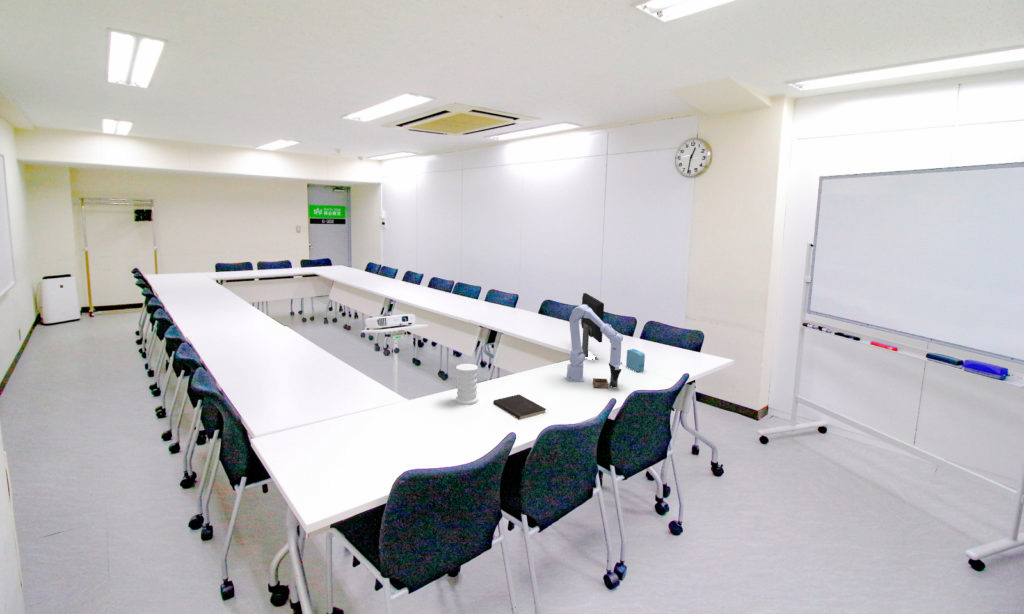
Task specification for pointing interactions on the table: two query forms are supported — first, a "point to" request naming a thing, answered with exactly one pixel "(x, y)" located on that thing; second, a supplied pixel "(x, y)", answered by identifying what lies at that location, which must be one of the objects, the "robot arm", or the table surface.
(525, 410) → the hardcover book
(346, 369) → the table surface
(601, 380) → the brown square tray
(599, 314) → the computer monitor
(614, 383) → the battery cell
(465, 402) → the decorative container
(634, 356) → the data package
